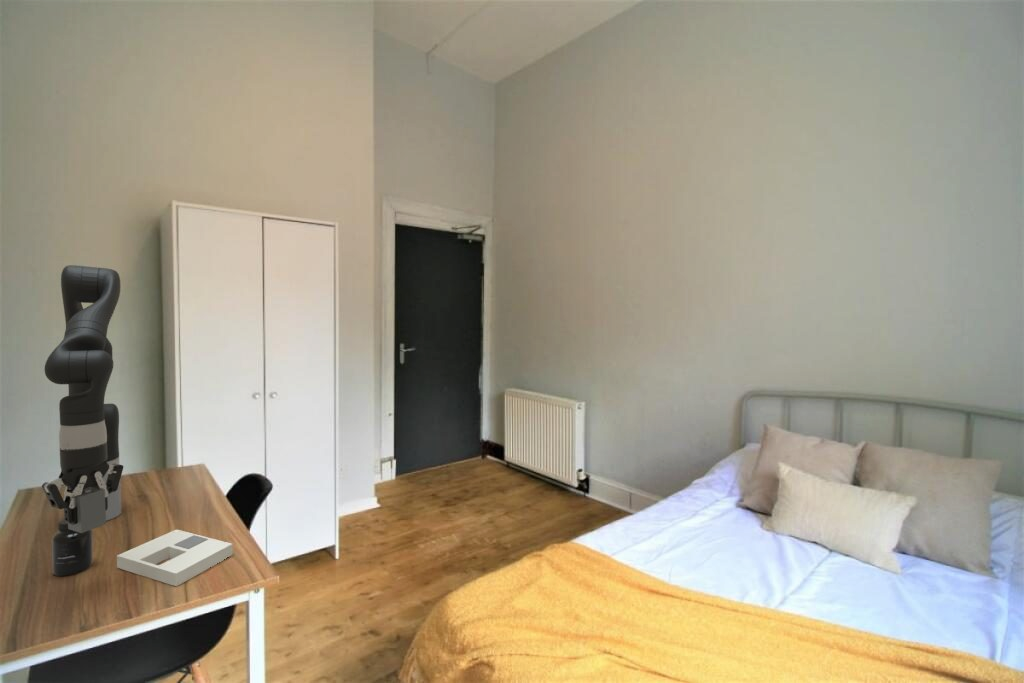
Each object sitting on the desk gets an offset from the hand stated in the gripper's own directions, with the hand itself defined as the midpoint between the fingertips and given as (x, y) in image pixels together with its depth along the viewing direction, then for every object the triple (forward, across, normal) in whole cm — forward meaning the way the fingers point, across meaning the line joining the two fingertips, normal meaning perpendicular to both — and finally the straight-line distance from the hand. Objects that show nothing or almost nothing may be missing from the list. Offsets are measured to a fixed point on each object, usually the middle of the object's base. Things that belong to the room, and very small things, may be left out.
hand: (86, 518), depth 101 cm
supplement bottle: (+16, -3, -11) cm, 20 cm away
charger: (+2, 0, 0) cm, 2 cm away
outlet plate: (+16, -14, +7) cm, 22 cm away
